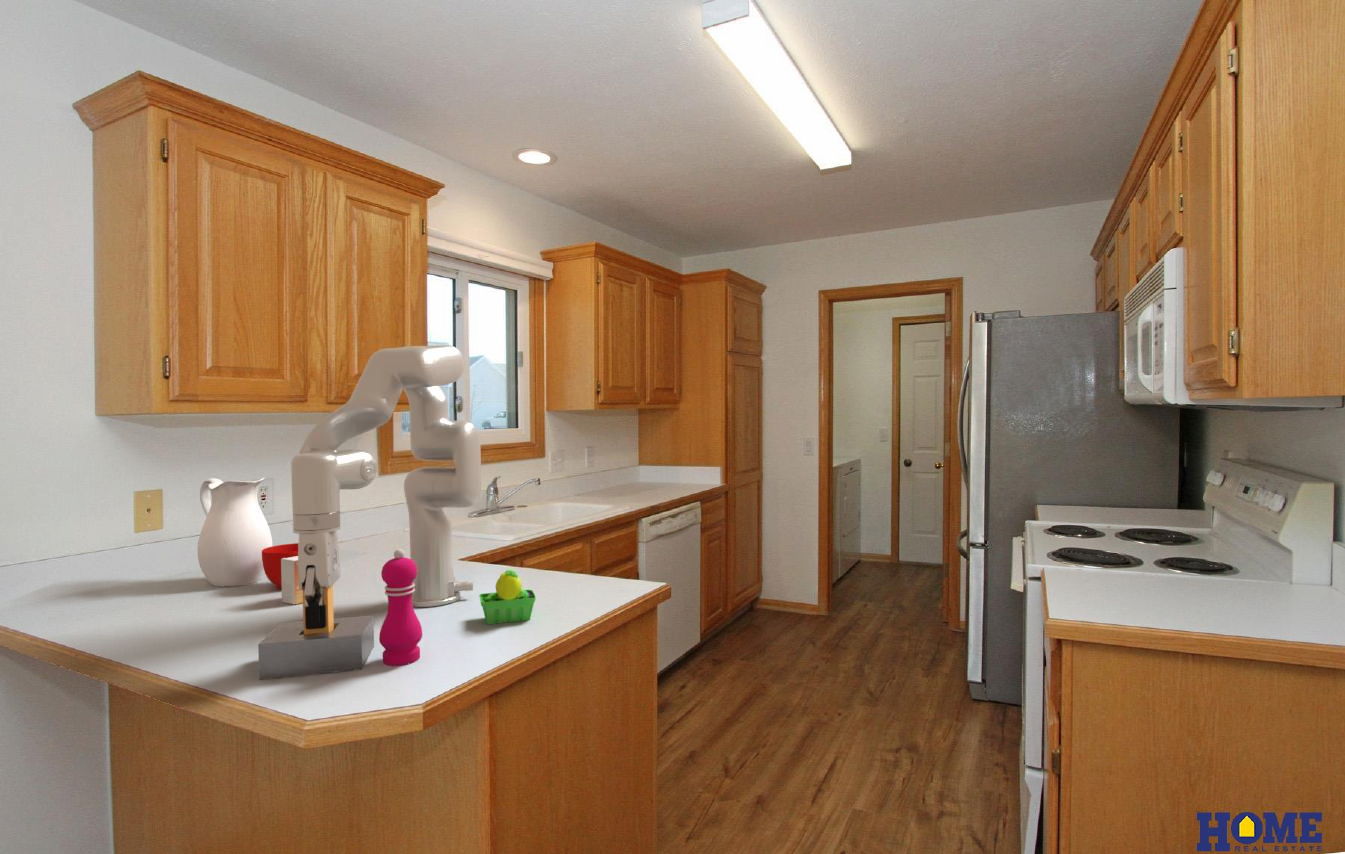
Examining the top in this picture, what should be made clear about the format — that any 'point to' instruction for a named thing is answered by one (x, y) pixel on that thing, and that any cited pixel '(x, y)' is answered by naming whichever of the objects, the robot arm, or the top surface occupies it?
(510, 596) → the fruit basket
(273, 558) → the ceramic cup
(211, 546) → the pitcher
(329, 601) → the wedge peg
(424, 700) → the top surface
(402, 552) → the pepper mill
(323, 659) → the socket block
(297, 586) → the small box
